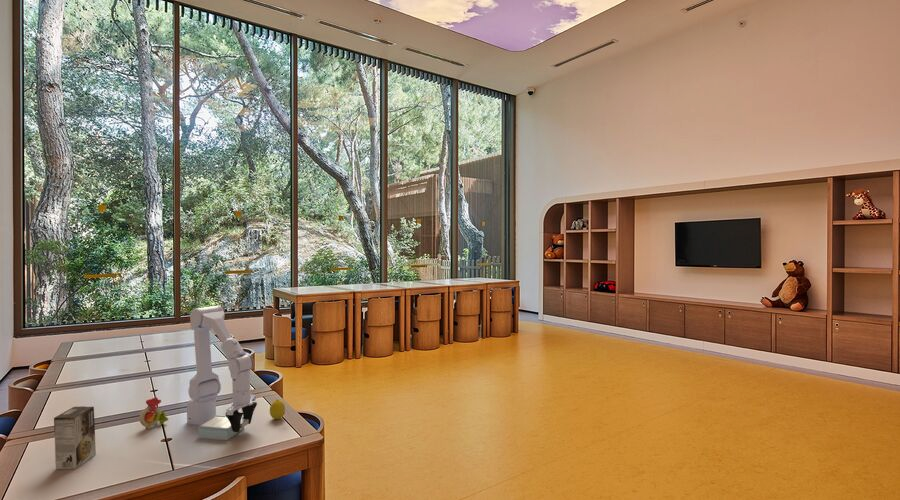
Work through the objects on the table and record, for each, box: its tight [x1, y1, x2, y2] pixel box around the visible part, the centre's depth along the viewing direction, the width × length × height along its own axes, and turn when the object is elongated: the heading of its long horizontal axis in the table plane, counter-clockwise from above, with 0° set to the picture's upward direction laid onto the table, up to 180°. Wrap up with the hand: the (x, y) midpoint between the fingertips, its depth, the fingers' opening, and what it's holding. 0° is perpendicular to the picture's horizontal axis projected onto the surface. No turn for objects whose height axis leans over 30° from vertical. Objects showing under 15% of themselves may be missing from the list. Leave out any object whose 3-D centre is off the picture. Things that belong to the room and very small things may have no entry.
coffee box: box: [53, 406, 97, 470], centre depth 148 cm, size 9×6×16 cm
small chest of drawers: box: [200, 417, 250, 429], centre depth 169 cm, size 14×8×2 cm, turn 81°
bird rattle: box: [138, 396, 169, 430], centre depth 175 cm, size 6×11×9 cm
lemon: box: [269, 399, 286, 420], centre depth 182 cm, size 6×6×8 cm
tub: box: [197, 414, 245, 441], centre depth 169 cm, size 11×10×5 cm
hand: (241, 427), depth 168 cm, fingers open, 6 cm apart
